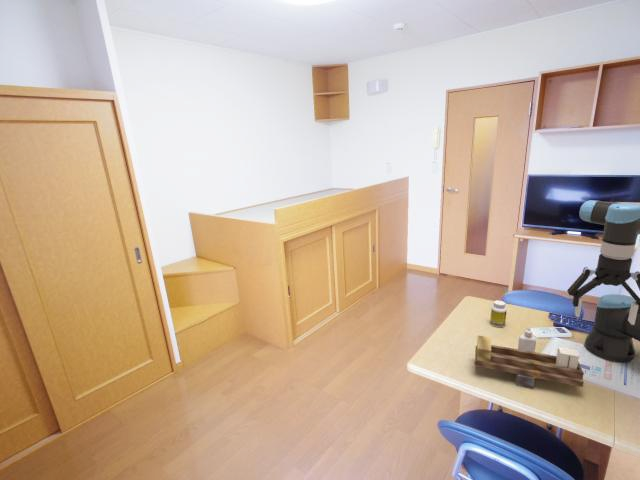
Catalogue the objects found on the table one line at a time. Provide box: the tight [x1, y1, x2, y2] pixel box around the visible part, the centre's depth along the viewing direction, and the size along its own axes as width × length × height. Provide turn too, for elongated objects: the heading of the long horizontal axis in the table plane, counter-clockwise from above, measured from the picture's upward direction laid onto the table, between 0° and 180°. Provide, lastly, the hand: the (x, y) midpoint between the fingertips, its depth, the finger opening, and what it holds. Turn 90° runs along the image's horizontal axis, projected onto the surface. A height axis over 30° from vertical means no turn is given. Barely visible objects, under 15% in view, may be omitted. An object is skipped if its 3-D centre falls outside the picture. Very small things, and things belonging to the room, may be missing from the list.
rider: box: [556, 346, 580, 370], centre depth 113 cm, size 5×4×7 cm
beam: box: [474, 335, 585, 390], centre depth 119 cm, size 32×12×11 cm, turn 65°
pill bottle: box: [489, 299, 508, 328], centre depth 154 cm, size 6×6×11 cm
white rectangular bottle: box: [517, 327, 537, 352], centre depth 131 cm, size 4×6×12 cm
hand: (603, 319), depth 106 cm, fingers open, 13 cm apart
